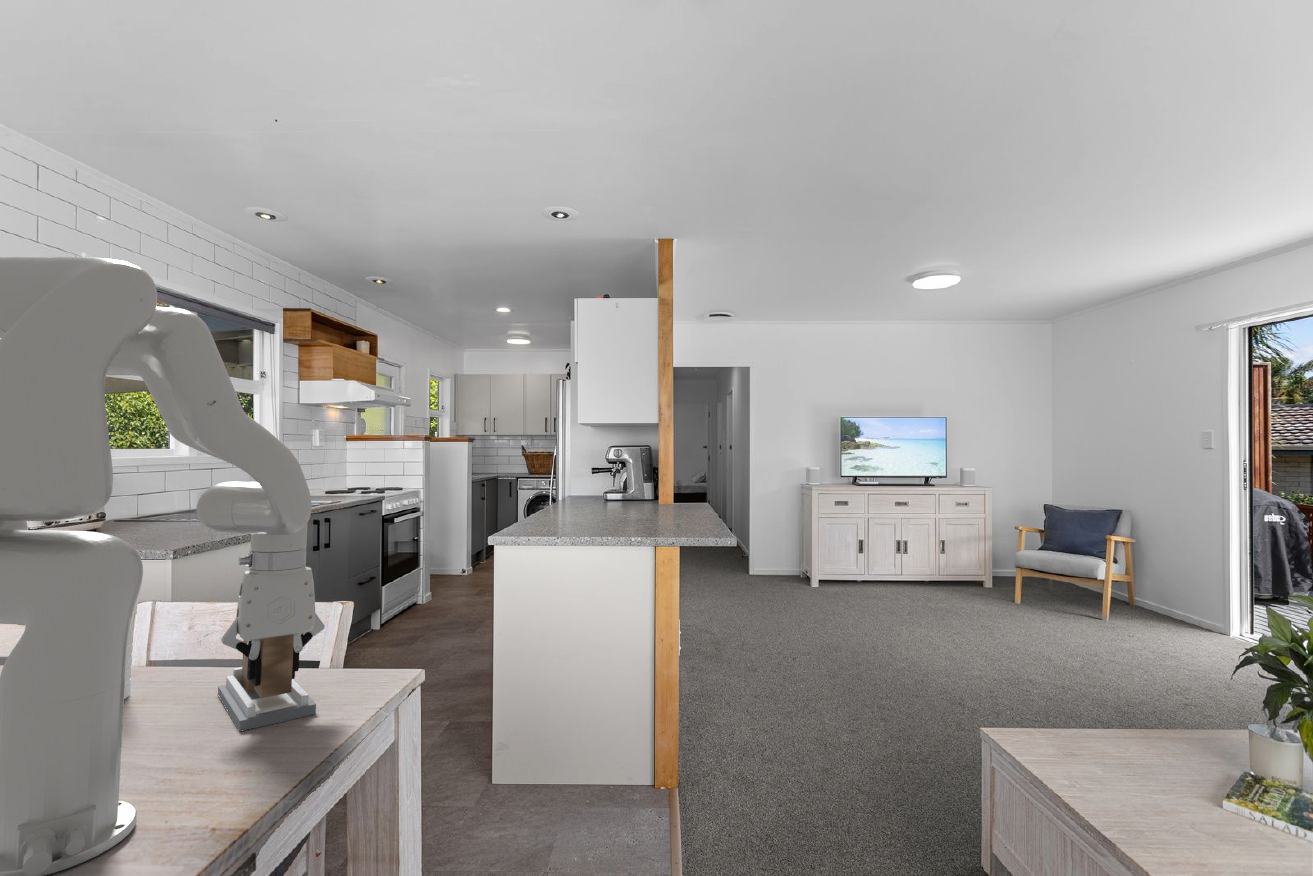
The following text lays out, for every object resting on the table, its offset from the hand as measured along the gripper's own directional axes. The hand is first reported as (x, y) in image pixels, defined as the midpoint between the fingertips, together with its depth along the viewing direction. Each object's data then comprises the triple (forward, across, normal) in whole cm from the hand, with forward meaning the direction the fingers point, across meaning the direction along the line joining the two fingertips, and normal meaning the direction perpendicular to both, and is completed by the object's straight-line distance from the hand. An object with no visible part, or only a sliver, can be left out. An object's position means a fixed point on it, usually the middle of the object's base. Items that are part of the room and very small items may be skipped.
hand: (273, 679), depth 98 cm
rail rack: (+5, 0, +5) cm, 7 cm away
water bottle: (+5, -20, +23) cm, 31 cm away
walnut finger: (+2, 0, 0) cm, 2 cm away
